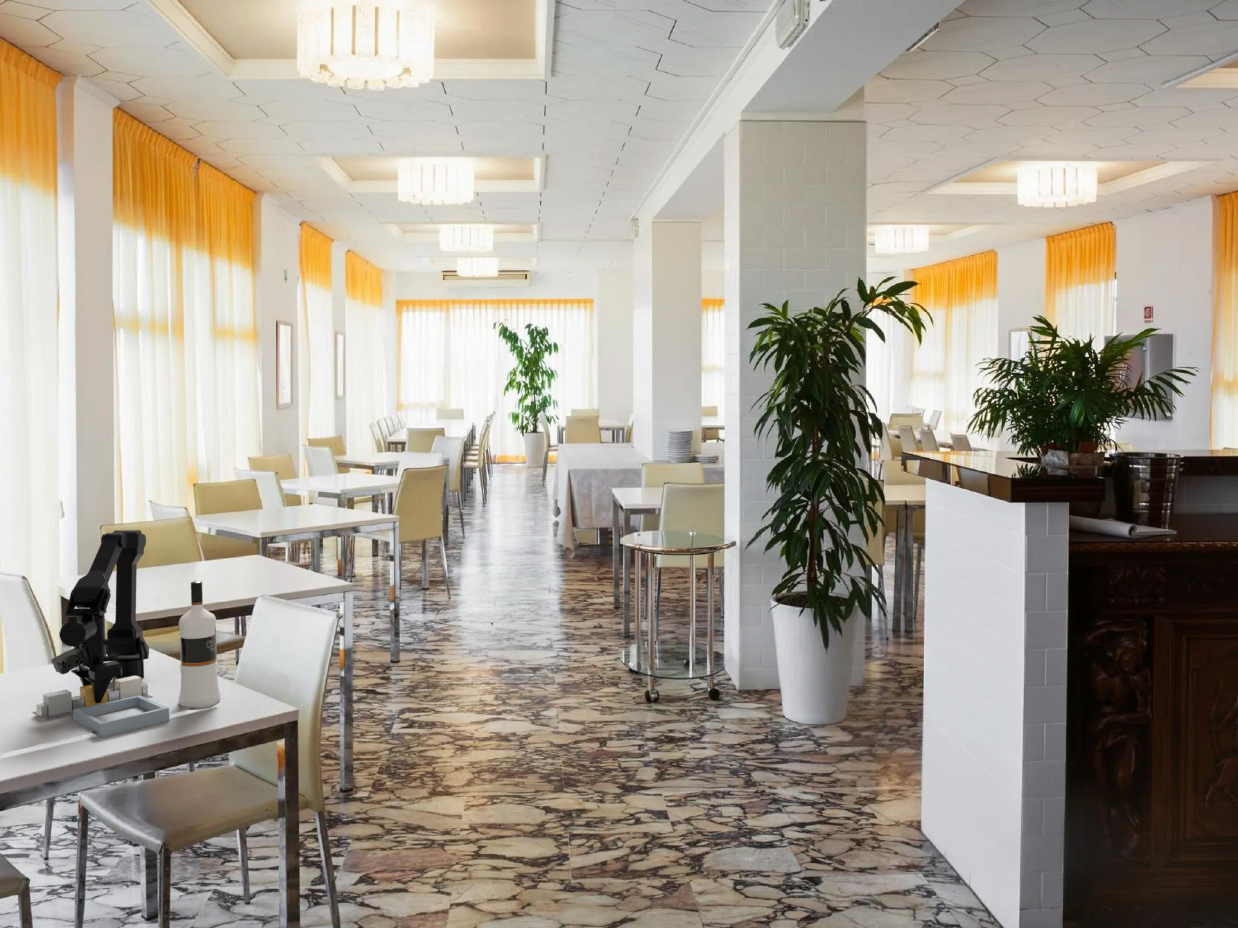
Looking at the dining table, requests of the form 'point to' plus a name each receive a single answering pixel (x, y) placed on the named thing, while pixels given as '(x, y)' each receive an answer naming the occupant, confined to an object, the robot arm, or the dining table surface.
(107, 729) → the tray
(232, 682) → the dining table surface
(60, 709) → the block
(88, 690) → the block
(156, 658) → the dining table surface
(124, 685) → the block
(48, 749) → the dining table surface
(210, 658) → the vodka
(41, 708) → the board
